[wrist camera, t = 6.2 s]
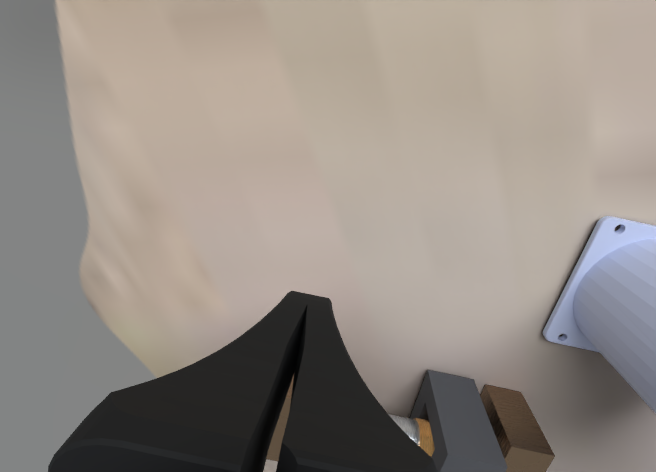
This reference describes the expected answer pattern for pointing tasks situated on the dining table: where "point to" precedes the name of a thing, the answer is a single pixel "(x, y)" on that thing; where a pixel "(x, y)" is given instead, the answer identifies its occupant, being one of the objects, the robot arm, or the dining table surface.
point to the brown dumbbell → (506, 420)
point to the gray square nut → (458, 425)
